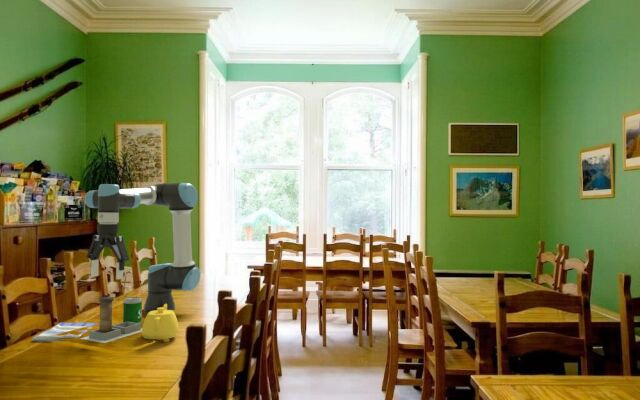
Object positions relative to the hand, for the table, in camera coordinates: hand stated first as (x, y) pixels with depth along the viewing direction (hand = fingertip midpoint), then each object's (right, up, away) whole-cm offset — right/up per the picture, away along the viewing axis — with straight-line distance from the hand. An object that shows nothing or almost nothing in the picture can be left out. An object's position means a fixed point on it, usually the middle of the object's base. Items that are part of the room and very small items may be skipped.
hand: (107, 277), depth 178 cm
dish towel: (-19, -25, +8) cm, 33 cm away
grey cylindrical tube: (0, -23, -1) cm, 23 cm away
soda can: (+1, -25, +22) cm, 33 cm away
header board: (+2, -24, +4) cm, 25 cm away
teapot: (+20, -25, +2) cm, 32 cm away
